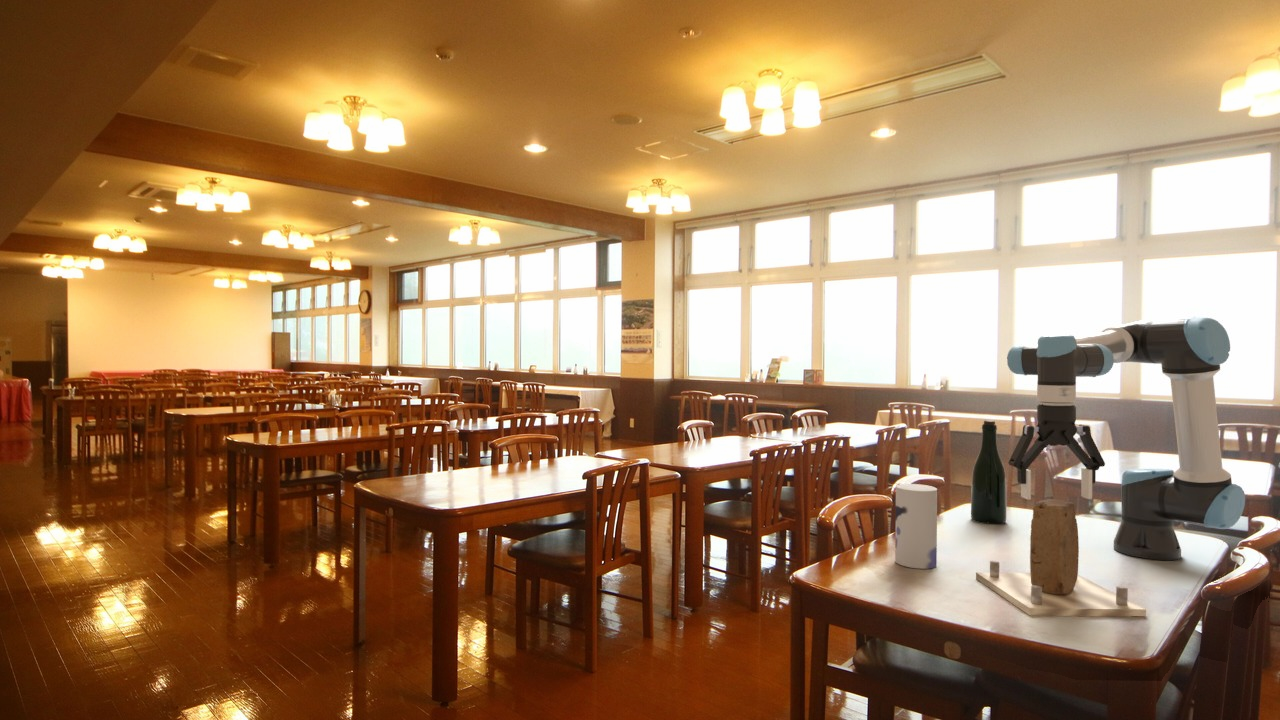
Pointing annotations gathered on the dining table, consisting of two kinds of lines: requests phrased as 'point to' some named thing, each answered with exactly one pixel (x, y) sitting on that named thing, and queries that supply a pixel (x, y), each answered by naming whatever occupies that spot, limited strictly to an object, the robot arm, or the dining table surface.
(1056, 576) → the block
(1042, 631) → the dining table surface
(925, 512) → the container
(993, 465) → the beer bottle
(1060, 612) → the peg stand
